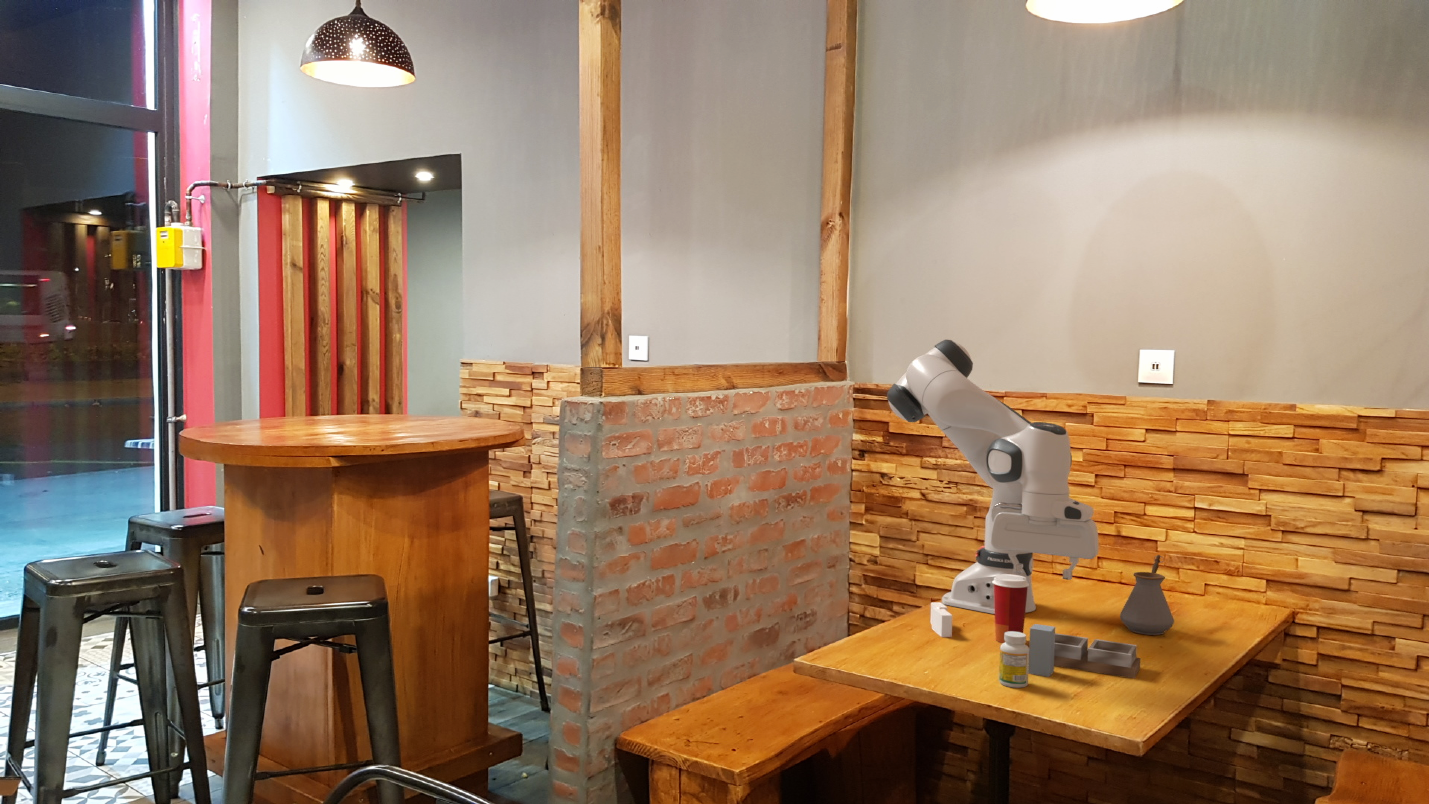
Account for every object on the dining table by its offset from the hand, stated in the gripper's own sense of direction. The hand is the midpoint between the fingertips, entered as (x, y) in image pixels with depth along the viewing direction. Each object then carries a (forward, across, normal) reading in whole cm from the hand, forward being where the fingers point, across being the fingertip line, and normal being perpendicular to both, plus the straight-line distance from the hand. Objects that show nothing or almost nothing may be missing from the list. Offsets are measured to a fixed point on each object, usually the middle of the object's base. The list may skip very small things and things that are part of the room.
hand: (1042, 576), depth 206 cm
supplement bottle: (+20, -2, -10) cm, 22 cm away
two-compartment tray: (+19, +7, +10) cm, 23 cm away
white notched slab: (+20, -26, +20) cm, 38 cm away
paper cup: (+19, -11, +19) cm, 29 cm away
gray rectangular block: (+19, 0, 0) cm, 19 cm away
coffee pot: (+19, +14, +50) cm, 56 cm away
